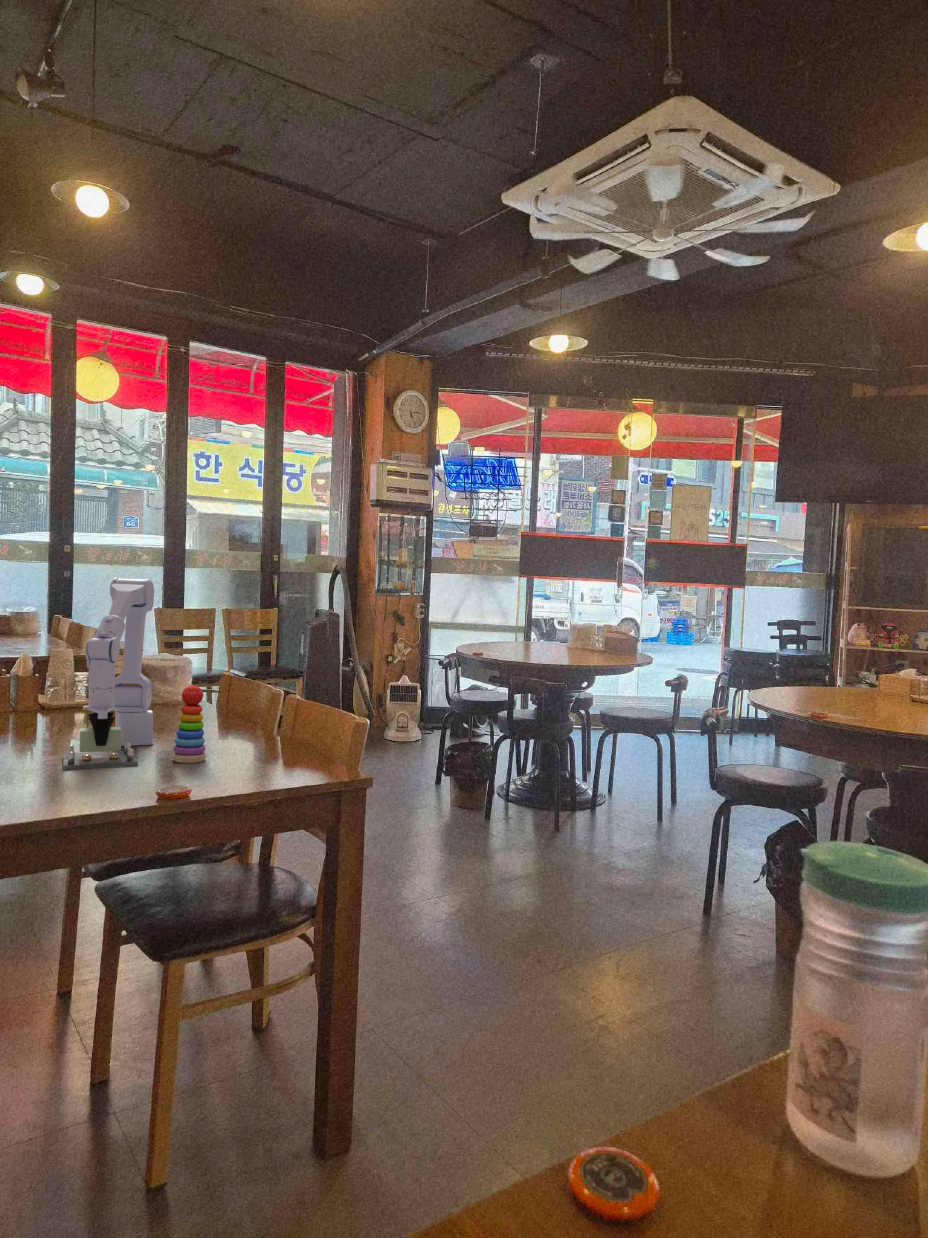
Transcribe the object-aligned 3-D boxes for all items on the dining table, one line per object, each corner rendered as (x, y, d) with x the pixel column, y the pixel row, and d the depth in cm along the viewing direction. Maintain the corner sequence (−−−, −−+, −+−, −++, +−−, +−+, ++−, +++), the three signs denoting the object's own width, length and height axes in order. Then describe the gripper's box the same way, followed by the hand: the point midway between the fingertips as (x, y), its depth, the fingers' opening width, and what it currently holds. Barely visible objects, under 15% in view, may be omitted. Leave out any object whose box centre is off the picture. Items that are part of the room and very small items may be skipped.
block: (119, 746, 203) (120, 726, 202) (120, 750, 199) (121, 729, 199) (79, 748, 199) (79, 728, 198) (79, 752, 195) (80, 731, 195)
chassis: (133, 754, 208) (133, 740, 208) (138, 765, 197) (138, 751, 197) (63, 757, 201) (63, 743, 201) (63, 770, 190) (63, 755, 190)
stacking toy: (174, 765, 199) (176, 688, 198) (169, 758, 206) (171, 683, 205) (208, 763, 203) (210, 687, 202) (202, 756, 210) (204, 682, 209)
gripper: (82, 683, 203) (81, 738, 204) (84, 692, 190) (83, 750, 191) (113, 683, 206) (112, 737, 207) (117, 691, 193) (116, 749, 194)
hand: (100, 743), depth 199 cm, fingers closed on block, 4 cm apart
